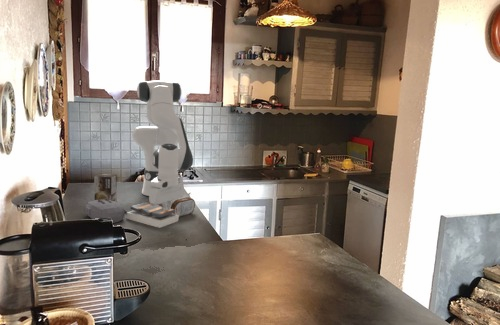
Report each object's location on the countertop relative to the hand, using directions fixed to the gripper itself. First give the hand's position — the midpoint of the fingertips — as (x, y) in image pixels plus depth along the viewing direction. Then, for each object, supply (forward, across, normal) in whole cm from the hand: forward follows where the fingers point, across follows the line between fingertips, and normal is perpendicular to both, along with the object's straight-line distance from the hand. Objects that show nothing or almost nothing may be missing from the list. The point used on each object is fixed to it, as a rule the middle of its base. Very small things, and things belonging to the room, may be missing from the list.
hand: (166, 210), depth 185 cm
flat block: (+2, 0, -2) cm, 2 cm away
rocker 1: (+2, 0, -15) cm, 15 cm away
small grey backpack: (+7, +12, -26) cm, 29 cm away
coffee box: (+7, -1, -40) cm, 41 cm away
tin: (+7, -15, -2) cm, 16 cm away
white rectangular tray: (+6, 0, -12) cm, 14 cm away
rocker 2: (+2, 0, -8) cm, 8 cm away
